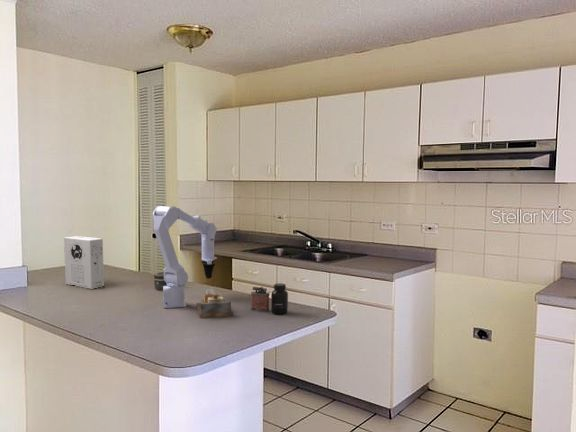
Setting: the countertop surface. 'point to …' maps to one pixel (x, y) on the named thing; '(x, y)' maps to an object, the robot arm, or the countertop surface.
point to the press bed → (214, 309)
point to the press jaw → (209, 294)
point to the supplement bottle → (279, 300)
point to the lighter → (260, 300)
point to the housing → (215, 299)
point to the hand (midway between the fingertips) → (208, 277)
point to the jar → (159, 281)
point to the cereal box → (84, 261)
